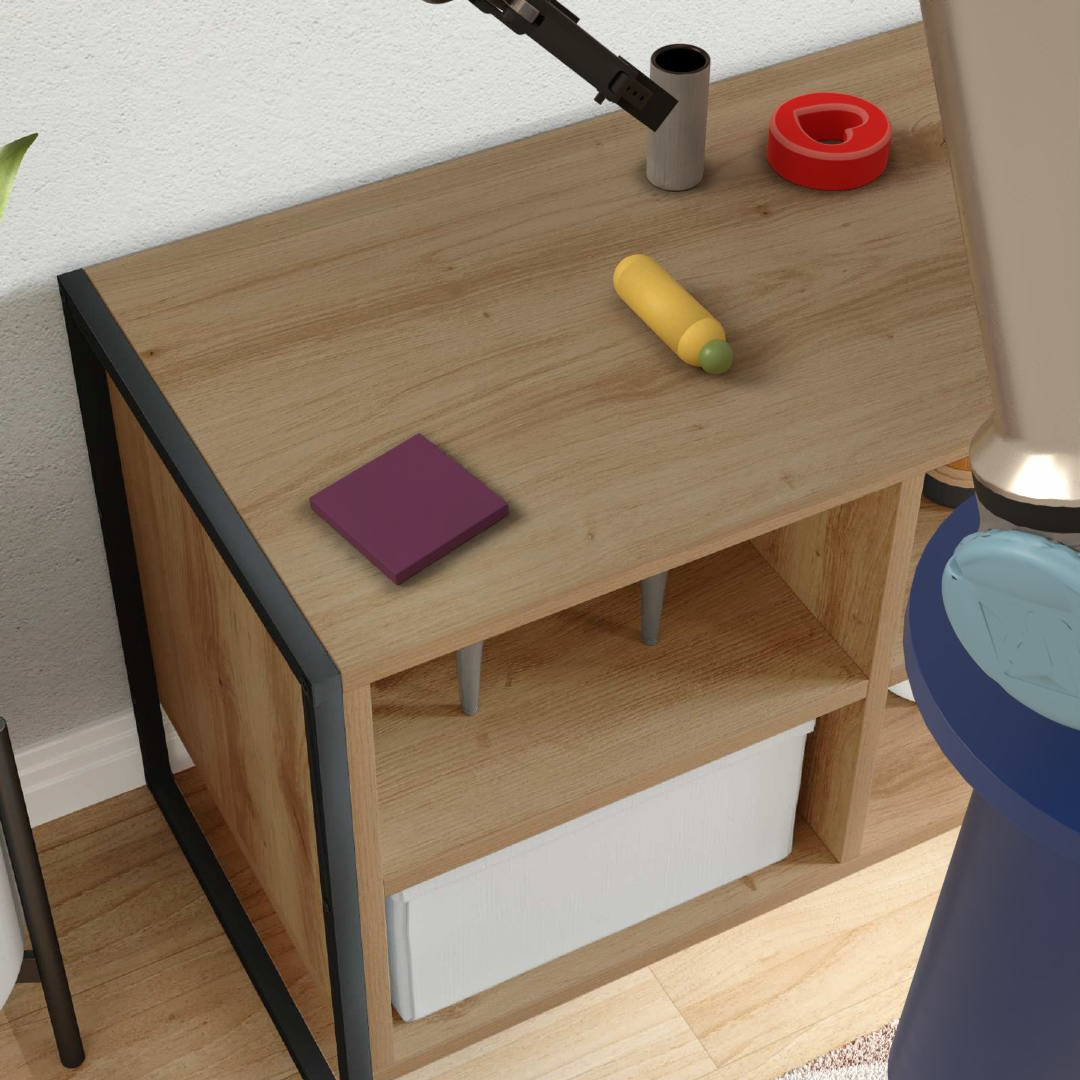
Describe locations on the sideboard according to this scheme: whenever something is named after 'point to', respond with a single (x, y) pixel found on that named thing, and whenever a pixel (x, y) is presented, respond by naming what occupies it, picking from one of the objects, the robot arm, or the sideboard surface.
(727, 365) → the corn
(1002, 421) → the robot arm
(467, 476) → the cloth
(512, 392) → the sideboard surface
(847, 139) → the decorative ornament
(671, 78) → the grey hollow cylinder
